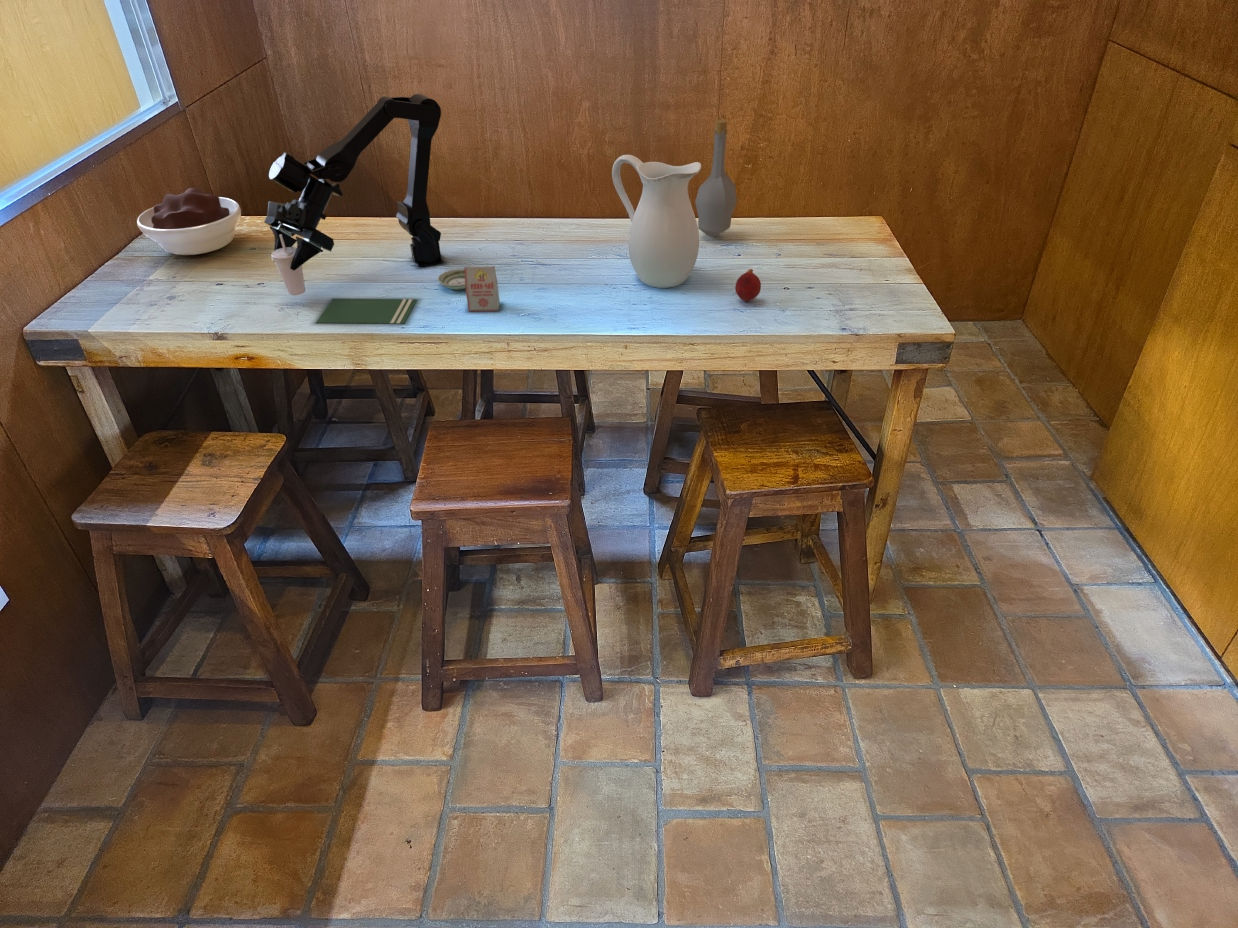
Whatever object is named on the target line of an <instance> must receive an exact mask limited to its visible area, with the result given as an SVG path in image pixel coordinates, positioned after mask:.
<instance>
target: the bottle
mask: <svg viewBox="0 0 1238 928" xmlns="http://www.w3.org/2000/svg"><path fill="white" fill-rule="evenodd" d="M727 126H728V120H727V119H716V120H715V129H714V135H713V137H714V139H713V156H712V166H711V171H710V174H709V176H708V177H707V178H706V179H705V181H704V182H702V184H701V185H700V186H698V191H697V194H696V198H695V202H694V204H695V208H696V212H697V216H698V217H697V221H698V223H697V226H698V230H700V231H701V232H702V233H703V234H705V235H706V236H708V237H711V238H718V237H719V236H720V235H722V233H724V232H726V231H727V230H729V229H730V228H731V225H732V217H733V213H734V211H735V208H736V206H737V203H738V196H737V188H736V184H735V183H734V182H733V180H732V179H731V178H730V177H729V176H728V175H727V173H726V171H725V170H726V169H725V168H726V165H725V160H726V159H725V158H726V142H727V134H728V128H727Z"/></svg>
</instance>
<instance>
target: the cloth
mask: <svg viewBox="0 0 1238 928" xmlns="http://www.w3.org/2000/svg"><path fill="white" fill-rule="evenodd" d="M417 301H418V299H416V298H332V299H331V301H330V302H329V303H328V305H327V306H326V307H325V309H324V310H323V312H322V313H321V314H320V316H319V317H318V319H317V320H316V322H315V324H358V325H359V324H362V325H363V324H365V325H366V324H369V325H370V324H374V325H376V324H377V325H378V324H379V325H384V324H385V325H404V324H405V323H406V321H407V320H408V318H409V316H410V314H411V312H412V310H413V309H414V306H415V304H416V302H417Z"/></svg>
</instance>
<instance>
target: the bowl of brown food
mask: <svg viewBox="0 0 1238 928" xmlns="http://www.w3.org/2000/svg"><path fill="white" fill-rule="evenodd" d="M241 215H242V208H241V206H240V205H239V203H238V202H237V201H235V200H233V199H230V198H228V197H221V196H217V195H215V194H212V193H206V192H205V191H203V190H201V189H199V188H194V187H189V188H187V189H186V190H185V191H184V192H182V193H179V194H173V193H166V194H165V196H164V197H163V200H162V202H161V203H158V204H155V205H154V206H153V207H150V208H148V209H146V210H144V211H143V212H141V214H139V216H138V217H137V219H136V225H137V227H138V230H139V231H140V232H141V233H142V234H143V235H144V236H146V237H147V238H149V239H150V240H152V241H154V242H156V243H157V244H158V246H160V248H161V249H162V250H164V251H165V252H167V253H169V254H174V255H177V256H178V255H179V256H195V255H201V254H207V253H212V252H214V251H217V250H221V249H222V248H225V247H226V246H227V245H229V244H230V243H231V242H232V241H233V240H234V238H235V233H236V227H237V226H238V224H239V222H240V219H241V217H242V216H241Z"/></svg>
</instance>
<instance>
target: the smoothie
mask: <svg viewBox="0 0 1238 928" xmlns="http://www.w3.org/2000/svg"><path fill="white" fill-rule="evenodd" d="M279 236H280V239H281V243H282V246H283V248H280V249H277V250H275V251H274V250H273V251H272V252H271V255H270V256H271V260H272V261H273V262H274V261H275V262H274V263H275V265H276V268H277V270H278V272H279V274H280V277H281V279H282V281H283V284H284V285H285V288H286V290H287V292H288V294H289V295H291V296H300V295H303V294H304V293H305V292H306V286H305V279H304V272H303V264H302V265H301V266H300V267H299V268H297V269H296V270H292V269H290V266H291V263H292V260H293V257H294V254H295V252H296V249H297V247H295V246H292V247H285V244H284V240H283V237H282V234H280V235H279Z"/></svg>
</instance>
